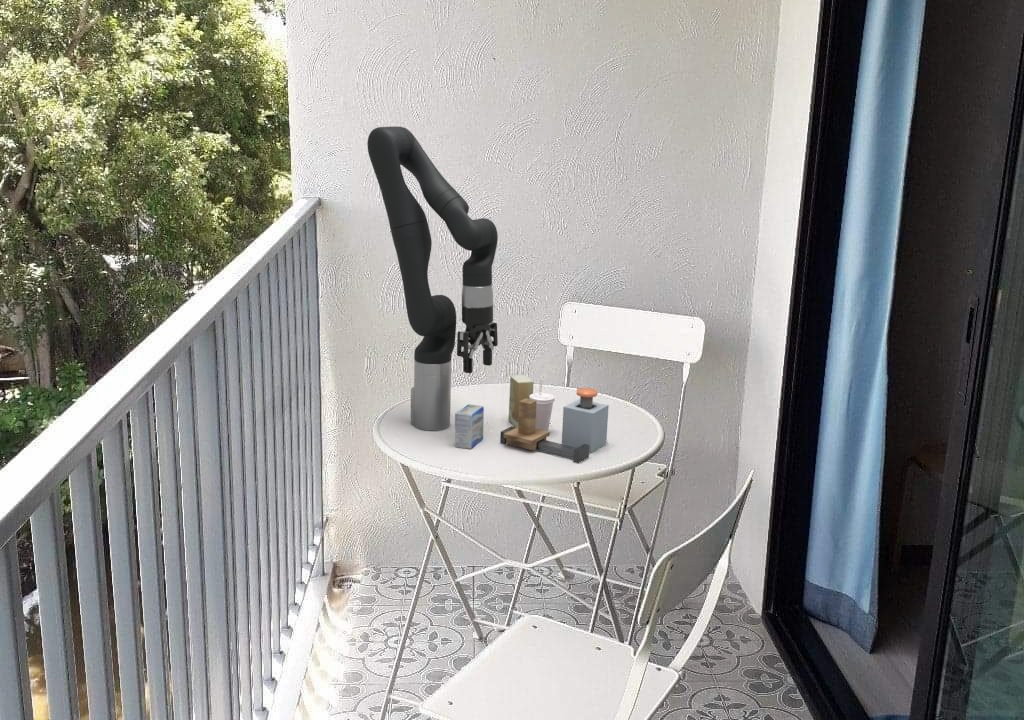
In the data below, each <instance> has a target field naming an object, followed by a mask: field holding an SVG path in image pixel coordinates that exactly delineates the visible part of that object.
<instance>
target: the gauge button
mask: <svg viewBox="0 0 1024 720" xmlns="http://www.w3.org/2000/svg"><path fill="white" fill-rule="evenodd" d="M576 395H577V396H579V399H580V408H584V409H588V410H590V409H592V404H593V402H594V401H593V400H594V398H595V397H597V396H598V390H597V389H595V388H590V387H589V388H588V387H581V388H577V389H576Z"/></svg>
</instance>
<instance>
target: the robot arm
mask: <svg viewBox="0 0 1024 720" xmlns="http://www.w3.org/2000/svg"><path fill="white" fill-rule="evenodd" d="M366 143H367V152H368V156H369V160H370V162H371V165H372V168H373V172H374V174H375V177H376V180H377V183H378V186H379V189H380V192H381V196H382V201H383V205H384V209H385V212H386V215H387V218H388V224H389V229H390V232H391V237H392V242H393V245H394V247H395V248H394V249H395V252H396V253H395V254H396V256H397V257H396V258H397V261H398V265H399V271H400V275H401V279H402V285H403V291H404V292H403V293H404V294H403V295H404V299H405V307H406V313H407V314H406V315H407V318H408V322H409V325H410V327H411V329H412V330H413V332H414V333H416V334H417V335H418V336H419V337H423V338H422V340H421V341H420V342H419V344H418V345H417V346H416V347H415V349H414V353H413V354H414V355H413V356H414V357H413V359H414V360H413V361H414V362H413V363H414V366H413V375H414V376H413V379H414V380H413V387H411V389H410V425H413V426H414V427H415V428H416V429H419V430H424V431H439V430H441V431H442V430H445V429H447V428H449V427H451V406H452V404H451V403H452V401H451V400H452V397H451V396H452V395H451V394H452V391H451V390H452V387H451V386H452V355H453V352H454V349H455V344H456V345H457V346H456V355H457V357H460V358H462V367H463V368H462V369H463V373H464V374H472V373H473V372H474V371H473V369H474V361H473V360H474V359H473V355H474V354H475V351H477V349H478V347H479V346H481V347H482V364H483V365H484V366H491V365H493V350H494V349H495V347H497V346H498V343H499V342H498V324H497V322H494V291H493V272H492V271H493V270H492V269H493V264H494V261H495V255H496V251H497V248H498V247H497V246H498V239H499V238H498V237H499V234H498V231H497V230H498V229H497V227H496V225H495V223H494V222H493V221H492V219H489V218H486V217H485V218H483V217H482V218H475V219H472V218H471V217H470V216H469V215H468V214H469V210H470V207H469V204H468V202H467V201H466V199H464V198H463V197H462V195H460V193H459V192H458V191H457V190H456V189H455V188H454V187H453V186H452V185H451V184H450V183H449V182H448V181H447V180H446V179H445V177H444V176H443V175H442V174H441V172H440V171H439V170H438V168H437V167H436V165H435V164H434V162H432V159H431V158H430V157H429V155H428V154H427V153H426V152H425V150H424V149H423V147H422V145H421V143H420V142H419V141H418V139H417V138H416V136H415V135H414V134H413V133H412V132H411V130H409V129H408V128H406V127H403V126H379V127H375V128H373V129H372V130H371V131H370V133H369V135H368V137H367V142H366ZM401 166H402V167H403V168H405V169H406V170H407V171H408V172H409V173H411V174H412V176H414V178H415V179H416V181H417V182H418V184H419V186H420V189H421V192H422V195H423V198H424V200H425V201H426V203H427V204H428V206H429V207H430V208H431V209H432V210H433V212H435V213H436V214H437V215H438V216H439V218H441V220H443V222H444V223H445V225H446V228H447V229H448V230H449V232H450V234H451V236H452V238H453V240H454V241H455V243H457V245H459V247H460V248H462V249H464V250H466V251H469V252H470V256H469V258H468V259H466V260H465V261H464V262H463V264H462V286H461V287H462V289H461V322H462V324H465V331H457V311H456V306H455V304H454V302H453V301H452V299H451V298H450V297H448V296H447V295H444V294H434V295H432V294H431V293H432V292H431V289H430V284H429V279H428V271H429V270H428V269H429V265H430V264H429V263H430V258H431V252H432V243H433V242H432V234H431V231H430V226H429V223H428V218H427V215H426V212H425V211H424V209H423V207H422V206H421V205H420V203H419V201H418V200H417V199H416V197H415V196H414V194H413V193H412V192H411V190H410V189H409V187H408V185H407V183H406V181H405V178H404V175H403V172H402V167H401ZM456 332H457V334H456ZM456 335H457V336H456ZM456 337H457V338H456ZM492 338H493V339H492ZM456 342H457V343H456ZM462 348H463V349H462Z"/></svg>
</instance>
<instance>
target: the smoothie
mask: <svg viewBox="0 0 1024 720" xmlns="http://www.w3.org/2000/svg"><path fill="white" fill-rule="evenodd" d="M542 389H543V379H542V378H540V379H539V392H533V394H531V395H530V396H529V399H531V400H535V401H537V402H536V426H535V428H536V429H540V430H544V431H548V432H549V429H550V423H551V418H552V417H551V416H552V411H553V405H554V403H555V399H556V398H555V396H554V395H553V394H551V393H547V392H542V391H543V390H542Z"/></svg>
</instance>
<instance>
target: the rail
mask: <svg viewBox="0 0 1024 720" xmlns="http://www.w3.org/2000/svg"><path fill="white" fill-rule="evenodd" d="M514 428H517V427H515V426H514V425H513V426H509V427H507V428H505V429H503V430H501V431H500V432H499V433H500V435H499V442H500V445H501V444H502V445H507V444H506V438H504V433H506V432H508V431H510V430H512V429H514ZM589 447H590V445H587V444H583V445H582V446H580V447H578V448H576V447H572V446H568V445H563V444H562V443H560V442H559V443H558V442H555V441H550V440H547V439H546V440H543V439H542V440H540V441H538V442H537V443H536V450H535V451H536V452H540V453H543V454H548V455H551V456H555V457H560V458H563V459H568V460H571V461H573V463H575V462H577V463H576V464H580V463H582V462H583V461H585V460H586V458H587V459H588V458H590V453H589ZM535 451H534V452H535ZM584 459H585V460H584ZM581 461H582V462H581ZM579 462H580V463H579Z"/></svg>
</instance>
